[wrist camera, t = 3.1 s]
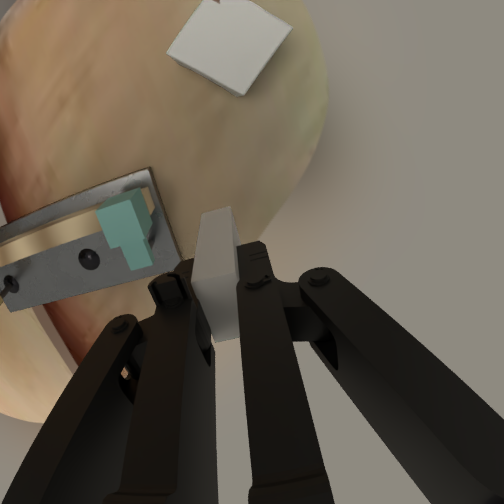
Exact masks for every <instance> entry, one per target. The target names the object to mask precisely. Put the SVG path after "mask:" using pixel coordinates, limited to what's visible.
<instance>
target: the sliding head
mask: <svg viewBox="0 0 504 504" xmlns="http://www.w3.org/2000/svg"><path fill="white" fill-rule="evenodd" d="M95 213H96V215H97V218H98V220H99V223H100V225H101V228H102V230H103V232H104V235H105V237H106V239H107V242H108V244H109V246H110V249H112V248H116V247H119V246H120V247H121V249H122V251H123V254H124V256H125V258H126V261H127V263H128V265H129V267H130V269H131V271H132V270H136V269H140V268H143V267H147V266H151V265H153V264H154V261H155V258H154V255H153V253H152V248H153V245H154V241H153V240H151V239H149V240H147V238H146V236H147V234H148V232H149V229H150V227H151V225H152V223H153V222H152V220H151V217H150V214H149V212H148V209H147V206H146V203H145V200H144V198H143V195H142V192H141V189H140V187H139V188H136V189H133V190H130V191H127V192H124V193H121V194H119V195H116V196H113V197H110V198H108V199H107V200H106V201H105V202H104V203H103V204H102V205H101V206H100V207H99V208H98V209H97V210H96V211H95Z"/></svg>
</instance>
